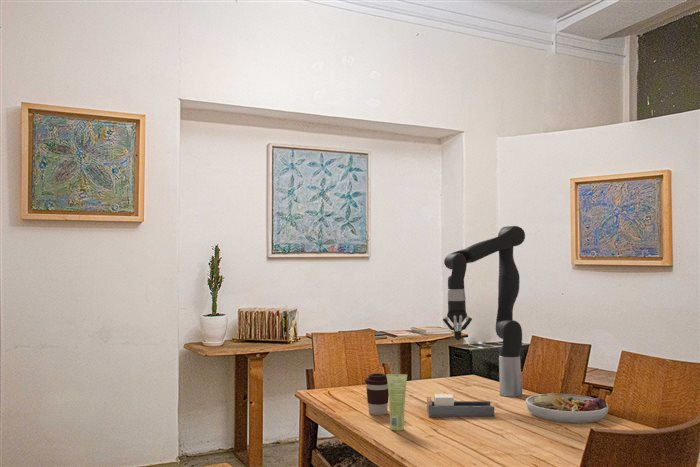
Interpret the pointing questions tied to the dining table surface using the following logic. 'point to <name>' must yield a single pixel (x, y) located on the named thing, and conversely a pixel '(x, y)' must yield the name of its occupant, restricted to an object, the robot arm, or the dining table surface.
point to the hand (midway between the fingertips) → (457, 339)
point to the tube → (396, 400)
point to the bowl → (567, 408)
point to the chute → (461, 409)
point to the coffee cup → (377, 393)
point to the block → (443, 400)
